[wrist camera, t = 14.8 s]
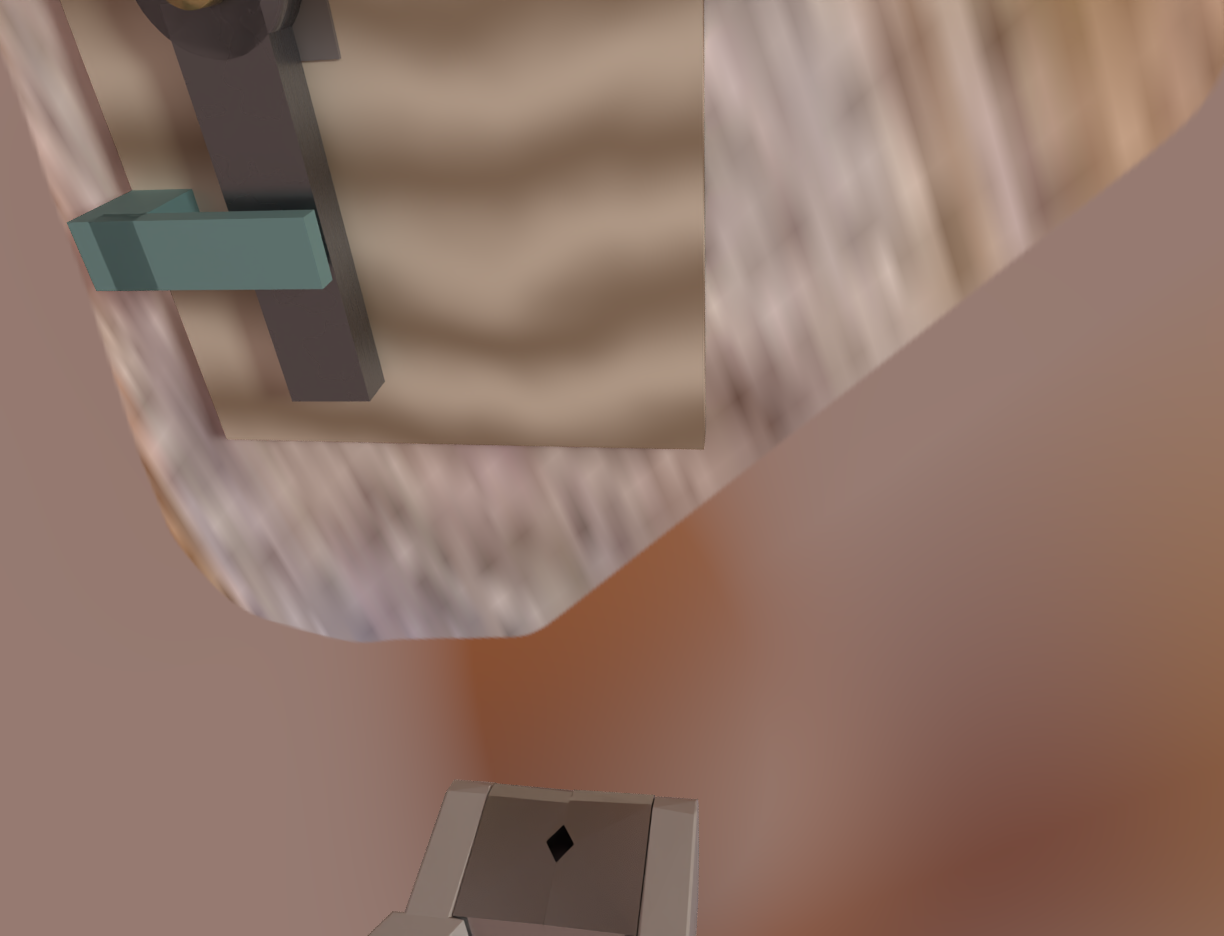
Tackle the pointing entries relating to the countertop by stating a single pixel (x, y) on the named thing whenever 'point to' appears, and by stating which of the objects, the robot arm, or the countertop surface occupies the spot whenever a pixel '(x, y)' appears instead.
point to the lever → (275, 177)
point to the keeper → (197, 246)
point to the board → (467, 215)
